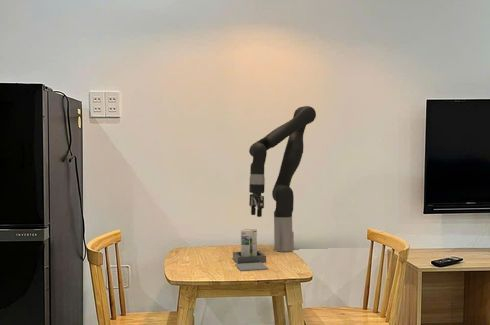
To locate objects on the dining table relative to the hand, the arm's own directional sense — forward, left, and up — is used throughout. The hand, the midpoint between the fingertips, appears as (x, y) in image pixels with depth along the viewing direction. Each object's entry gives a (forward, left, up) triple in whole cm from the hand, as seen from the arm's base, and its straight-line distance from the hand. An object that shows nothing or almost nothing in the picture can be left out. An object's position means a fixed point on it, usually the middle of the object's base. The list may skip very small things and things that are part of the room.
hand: (256, 215), depth 243 cm
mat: (+9, +31, -18) cm, 37 cm away
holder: (+7, +17, -18) cm, 26 cm away
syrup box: (+7, +17, -19) cm, 26 cm away
